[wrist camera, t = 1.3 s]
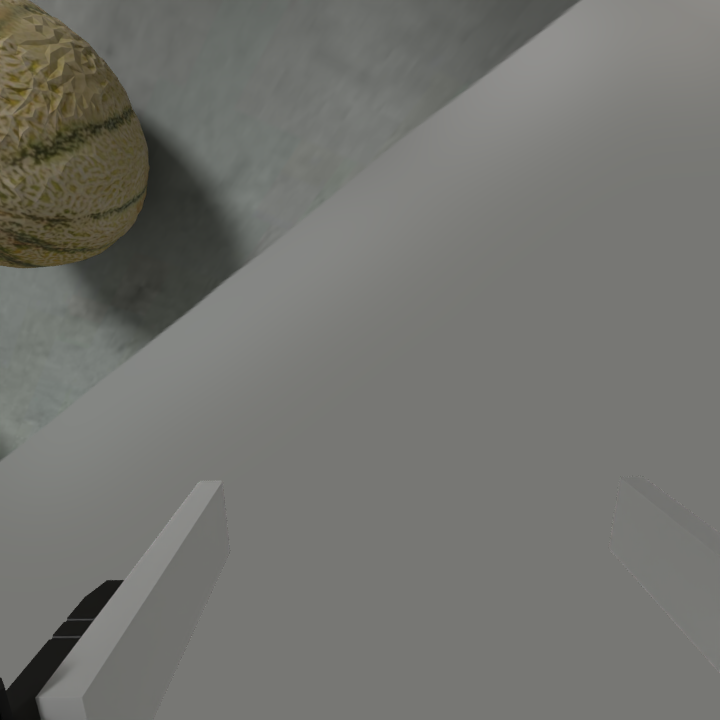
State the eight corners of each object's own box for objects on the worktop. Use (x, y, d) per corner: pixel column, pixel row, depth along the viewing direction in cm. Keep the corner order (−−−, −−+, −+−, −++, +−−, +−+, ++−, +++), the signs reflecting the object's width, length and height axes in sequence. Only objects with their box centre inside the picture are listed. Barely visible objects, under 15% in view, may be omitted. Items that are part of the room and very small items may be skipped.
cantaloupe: (38, -42, 25) (-311, -271, 11) (221, 154, 30) (129, 153, 17) (-66, 134, 29) (-411, 116, 15) (112, 278, 34) (-30, 355, 21)
